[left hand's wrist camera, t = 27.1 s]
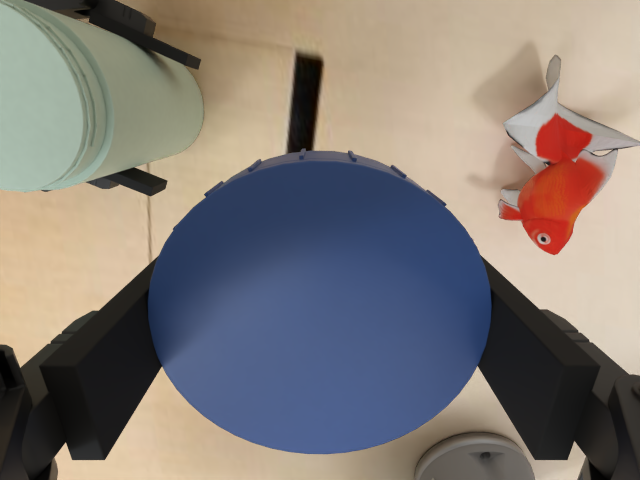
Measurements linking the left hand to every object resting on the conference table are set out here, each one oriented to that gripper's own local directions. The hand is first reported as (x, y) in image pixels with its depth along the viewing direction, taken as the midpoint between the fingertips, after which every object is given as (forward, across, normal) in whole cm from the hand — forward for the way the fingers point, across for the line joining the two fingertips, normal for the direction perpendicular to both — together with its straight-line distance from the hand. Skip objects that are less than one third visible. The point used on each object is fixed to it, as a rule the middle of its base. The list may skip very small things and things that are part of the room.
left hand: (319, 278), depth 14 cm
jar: (+22, +15, -6) cm, 27 cm away
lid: (-3, 0, 0) cm, 3 cm away
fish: (+22, -19, -2) cm, 29 cm away
